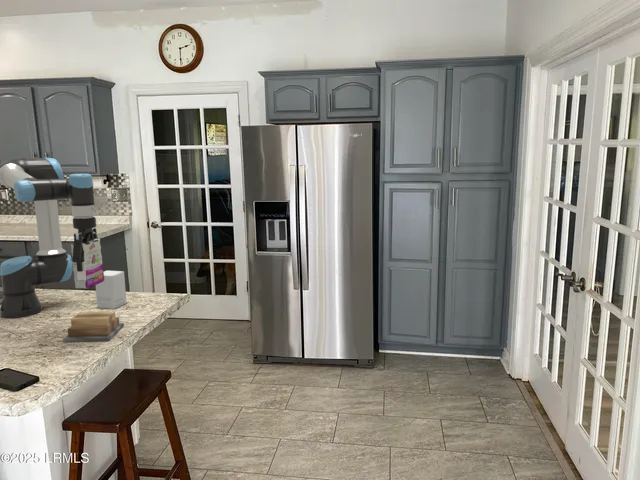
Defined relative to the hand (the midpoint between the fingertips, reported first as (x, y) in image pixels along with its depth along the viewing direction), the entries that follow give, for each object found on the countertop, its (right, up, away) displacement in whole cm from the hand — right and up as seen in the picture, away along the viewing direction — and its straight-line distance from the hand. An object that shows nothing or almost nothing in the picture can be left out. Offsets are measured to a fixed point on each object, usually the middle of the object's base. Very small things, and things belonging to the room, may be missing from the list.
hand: (89, 275), depth 182 cm
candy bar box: (0, -4, +1) cm, 4 cm away
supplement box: (-8, -16, +38) cm, 42 cm away
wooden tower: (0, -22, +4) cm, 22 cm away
